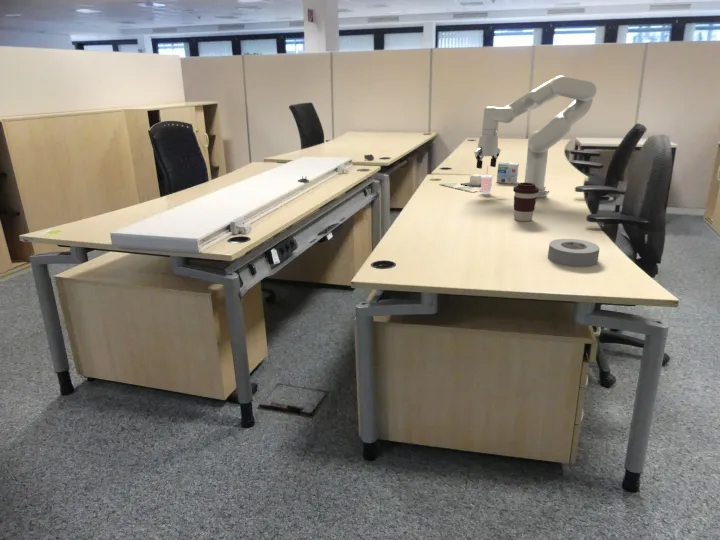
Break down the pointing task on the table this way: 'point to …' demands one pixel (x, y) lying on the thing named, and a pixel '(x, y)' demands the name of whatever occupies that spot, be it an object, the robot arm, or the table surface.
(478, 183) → the die
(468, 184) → the mat
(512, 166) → the light bulb box
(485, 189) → the beverage cup
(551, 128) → the robot arm
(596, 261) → the tape roll
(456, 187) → the track
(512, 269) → the table surface
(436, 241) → the table surface
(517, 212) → the coffee cup
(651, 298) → the table surface
